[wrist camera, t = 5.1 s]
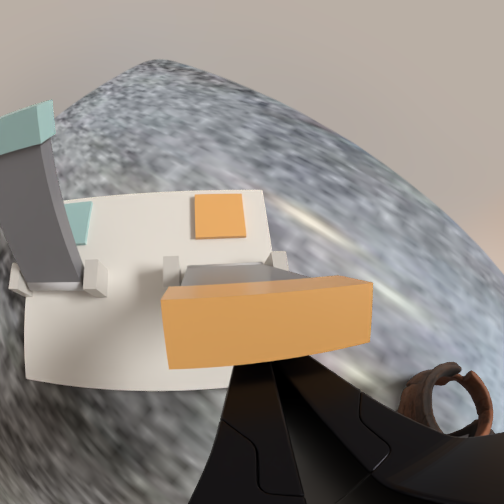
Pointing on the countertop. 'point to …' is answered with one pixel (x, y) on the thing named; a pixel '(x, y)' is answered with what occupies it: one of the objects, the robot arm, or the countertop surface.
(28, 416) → the countertop surface
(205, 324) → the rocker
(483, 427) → the pottery mug
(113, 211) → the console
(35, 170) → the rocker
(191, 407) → the countertop surface
